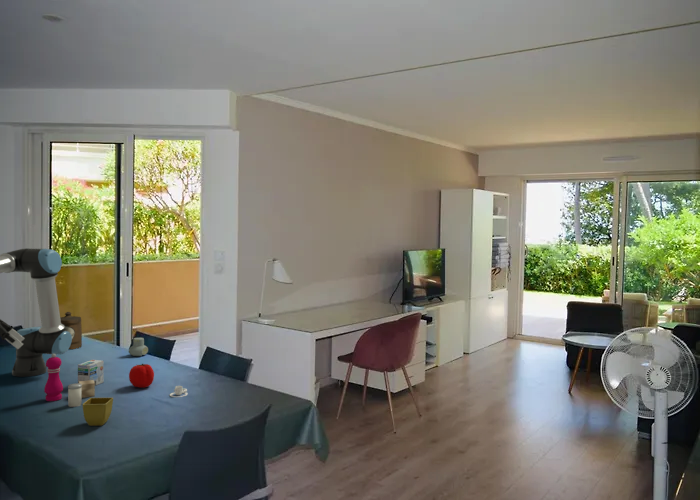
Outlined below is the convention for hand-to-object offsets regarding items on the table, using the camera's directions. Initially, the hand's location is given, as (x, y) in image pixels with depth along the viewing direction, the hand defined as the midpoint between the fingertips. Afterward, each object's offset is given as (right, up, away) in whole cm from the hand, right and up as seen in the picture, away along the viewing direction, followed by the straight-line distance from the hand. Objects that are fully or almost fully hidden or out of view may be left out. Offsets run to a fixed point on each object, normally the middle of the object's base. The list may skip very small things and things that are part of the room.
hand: (21, 343), depth 237 cm
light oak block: (+21, -25, +13) cm, 36 cm away
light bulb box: (+16, -25, +30) cm, 42 cm away
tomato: (+41, -25, +28) cm, 55 cm away
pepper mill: (+10, -25, +7) cm, 28 cm away
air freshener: (+15, -22, +91) cm, 95 cm away
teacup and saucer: (+64, -27, +18) cm, 72 cm away
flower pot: (+42, -27, -22) cm, 55 cm away
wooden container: (-35, -21, +108) cm, 115 cm away
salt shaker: (+23, -26, 0) cm, 34 cm away
